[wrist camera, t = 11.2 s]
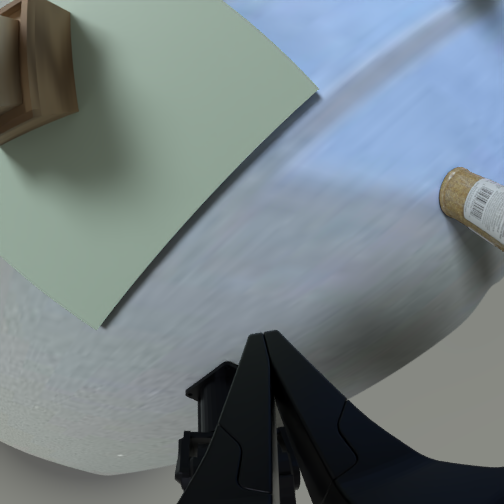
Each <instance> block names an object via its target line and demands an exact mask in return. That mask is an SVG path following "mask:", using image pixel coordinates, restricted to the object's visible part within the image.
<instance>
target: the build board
mask: <svg viewBox="0 0 504 504" xmlns="http://www.w3.org/2000/svg"><path fill="white" fill-rule="evenodd" d="M12 1H13V0H11V1H10V2H12ZM48 1H50V2H52V3H54V4H55V5H57V6H59V7H61V8H63V9H65V10H67V11H69V12H70V24H71V45H72V59H73V70H74V79H75V87H76V95H77V102H78V109H79V112H76V113H73V114H71V115H68V116H65V117H63V118H60V119H58V120H55V121H53V122H50V123H48V124H45V125H43V126H41V127H38V128H36V129H34V130H32V131H30V132H27V133H25V134H23V135H21V136H19V137H17V138H15V139H13V140H11V141H9V142H7V143H5V144H3V145H1V146H0V256H1V257H2V258H3V259H4V260H5V261H6V262H8V263H9V264H10V265H11V266H12V267H13V268H14V269H15V270H17V271H18V272H19V273H20V274H21V275H23V276H24V277H25V278H26V279H27V280H29V281H30V282H31V283H32V284H33V285H35V286H36V287H37V288H38V289H40V290H41V291H42V292H43V293H45V294H46V295H47V296H49V297H50V298H51V299H53V300H54V301H55V302H57V303H58V304H59V305H61V306H62V307H63V308H65V309H66V310H67V311H69V312H70V313H72V314H73V315H74V316H76V317H77V318H79V319H80V320H82V321H83V322H85V323H86V324H88V325H89V326H91V327H92V328H94V329H95V330H97V329H98V328H99V326H100V325H101V324H102V323H103V321H104V320H105V319H106V317H107V316H108V315H109V313H110V312H111V311H112V310H113V308H114V307H115V306H116V304H117V303H118V302H119V301H120V299H121V298H122V297H123V296H124V294H125V293H126V292H127V291H128V289H129V288H130V287H131V286H132V284H133V283H134V282H135V281H136V280H137V278H138V277H139V276H140V275H141V273H142V272H143V271H144V270H145V269H146V267H147V266H148V265H149V264H150V263H151V262H152V260H153V259H154V258H155V257H156V256H157V254H158V253H159V252H160V251H161V250H162V249H163V247H164V246H165V245H166V244H167V243H168V242H169V241H170V239H171V238H172V237H173V236H174V235H175V234H176V233H177V231H178V230H179V229H180V228H181V227H182V226H183V225H184V224H185V222H186V221H187V220H188V219H189V218H190V217H191V216H192V215H193V214H194V212H195V211H196V210H197V209H198V208H199V207H200V206H201V205H202V204H203V203H204V202H205V200H206V199H207V198H208V197H209V196H210V195H211V194H212V193H213V192H214V191H215V190H216V189H217V188H218V187H219V186H220V184H221V183H222V182H223V181H224V180H225V179H226V178H227V177H228V176H229V175H230V174H231V173H232V172H233V171H234V170H235V169H236V168H237V167H238V166H239V165H240V164H241V163H242V162H243V161H244V160H245V159H246V158H247V157H248V156H249V155H250V154H251V153H252V152H253V151H254V150H255V149H256V148H257V147H258V146H259V145H260V144H261V143H262V142H263V141H264V140H265V139H266V138H267V137H268V136H269V135H270V134H271V133H272V132H273V131H274V130H275V129H276V128H277V127H278V126H279V125H280V124H281V123H282V122H284V121H285V120H286V119H287V118H288V117H289V116H290V115H291V114H292V113H293V112H294V111H295V110H296V109H297V108H299V107H300V106H301V105H302V104H303V103H304V102H305V101H306V100H307V99H308V98H309V97H311V96H312V95H313V94H314V93H315V92H316V91H317V90H318V89H319V88H318V87H317V86H316V85H315V84H314V83H313V82H312V81H311V80H310V79H309V78H308V77H307V76H306V75H305V74H304V72H303V71H302V70H301V69H300V68H299V67H298V66H297V65H296V64H295V63H294V62H293V61H292V60H291V59H290V58H289V57H287V56H286V55H285V54H284V53H283V52H282V51H281V50H280V49H279V48H278V47H277V46H276V45H275V44H274V43H273V42H272V41H270V40H269V39H268V38H267V37H266V36H265V35H264V34H263V33H261V32H260V31H259V30H258V29H257V28H256V27H255V26H253V25H252V24H251V23H250V22H249V21H247V20H246V19H245V18H244V17H243V16H241V15H240V14H239V13H238V12H236V11H235V10H234V9H233V8H231V7H230V6H229V5H227V4H226V3H225V2H223V1H222V0H48ZM10 2H9V3H10Z"/></svg>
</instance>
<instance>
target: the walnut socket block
mask: <svg viewBox="0 0 504 504" xmlns="http://www.w3.org/2000/svg"><path fill="white" fill-rule="evenodd" d="M0 15H1V16H5V17H9V18H12V19H16V20H18V56H19V74H20V86H21V95H22V104H21V105H19V106H17V107H15V108H13V109H12V110H10V111H8V112H6V113H4V114H3V115H1V116H0V146H1V145H3V144H5V143H7V142H9V141H11V140H13V139H15V138H17V137H19V136H21V135H23V134H25V133H27V132H30V131H32V130H34V129H36V128H38V127H41V126H43V125H45V124H48V123H50V122H53V121H55V120H58V119H60V118H63V117H65V116H68V115H71V114H73V113H76V112H79V109H78V102H77V95H76V87H75V79H74V70H73V59H72V45H71V24H70V12H69V11H67V10H65V9H63V8H61V7H59V6H57V5H55V4H54V3H52V2H50V1H48V0H13V1H12V2H10V3H9V4H7V5H6V6H4V7H3V8H1V9H0Z"/></svg>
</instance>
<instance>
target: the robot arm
mask: <svg viewBox="0 0 504 504" xmlns="http://www.w3.org/2000/svg"><path fill="white" fill-rule="evenodd" d="M186 396H187V397H189V398H192V399H194V400H196V401H198V432H191V431H184V437H183V438H182V439H179V450H178V460H177V465H176V471H175V480H176V481H177V482H179V483H180V484H181V487H182V489H183V490H184V493H183V494H182V496H181V498H180V500H179V501H178V503H177V504H296V498H295V490H298V489H299V486H300V471H301V473H302V476H303V479H304V481H305V484H306V487H307V489H308V492H309V495H310V497H311V500H312V503H313V504H504V467H482V466H472V465H464V464H457V463H450V462H444V461H438V460H434V459H431V458H428V457H426V456H424V455H422V454H420V453H418V452H416V451H415V450H413V449H412V448H410V447H409V446H407V445H406V444H404V443H403V442H401V441H400V440H398V439H397V438H395V437H394V436H392V435H391V434H389V433H388V432H387V431H385V430H384V429H382V428H381V427H380V426H378V425H377V424H376V423H374V422H373V421H371V420H370V419H369V418H368V417H367V416H366V415H364V414H363V413H362V412H361V411H360V410H359V409H358V408H356V407H355V406H354V405H353V404H352V403H351V402H350V401H349V400H347V398H346V397H345V396H344V395H343V394H342V393H341V392H340V391H338V390H337V389H336V388H335V387H334V386H333V385H332V384H331V383H330V382H329V381H328V380H327V379H326V378H325V377H324V376H323V375H322V374H321V373H320V372H319V371H318V370H317V369H316V368H315V367H314V366H313V365H312V364H311V363H310V362H309V361H308V360H307V359H306V358H305V357H304V356H303V355H302V354H301V353H300V352H299V351H298V350H297V349H296V348H295V347H294V346H293V345H292V344H291V343H290V342H289V341H288V340H287V339H286V338H285V337H284V336H283V335H282V334H281V333H280V332H279V331H277V330H273V331H267V332H264V335H263V333H255V334H250V335H249V337H248V339H247V342H246V345H245V348H244V351H243V354H242V357H241V360H240V362H239V365H238V366H236V365H234V364H232V363H230V362H224V363H222V364H221V365H219V366H218V367H217V368H215V369H214V370H213V371H211V372H210V373H209V374H207V375H206V376H205V377H203V378H202V379H200V380H199V381H198V382H196V383H195V384H194V385H192V386H191V387H189V388H188V389H187V390H186ZM274 397H275V399H274ZM346 400H347V401H346ZM275 401H276V404H277V407H278V410H279V413H280V415H281V418H282V421H283V424H284V427H278V428H276V413H275ZM299 468H300V469H299Z"/></svg>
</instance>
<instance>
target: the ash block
mask: <svg viewBox="0 0 504 504" xmlns="http://www.w3.org/2000/svg"><path fill="white" fill-rule="evenodd" d="M21 104H22V95H21V86H20V74H19V56H18V20H16V19H12V18H9V17H5V16H1V15H0V116H1V115H3V114H4V113H6V112H8V111H10V110H12V109H13V108H15V107H17V106H19V105H21Z"/></svg>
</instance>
